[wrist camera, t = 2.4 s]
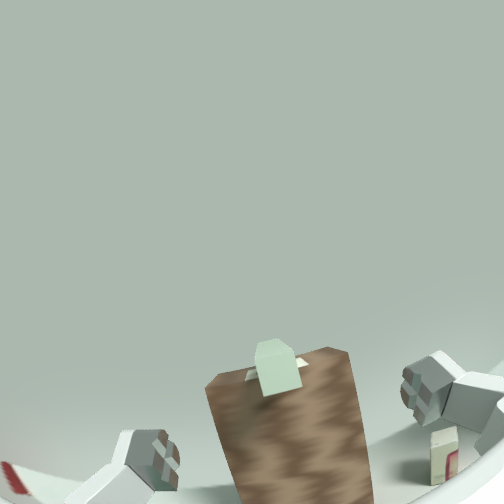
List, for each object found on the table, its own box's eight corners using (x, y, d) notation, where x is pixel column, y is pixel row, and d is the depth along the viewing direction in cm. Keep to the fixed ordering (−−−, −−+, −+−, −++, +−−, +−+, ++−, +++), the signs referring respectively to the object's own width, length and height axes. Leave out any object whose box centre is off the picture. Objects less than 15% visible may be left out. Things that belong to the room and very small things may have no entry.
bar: (282, 356, 40) (277, 337, 41) (302, 386, 19) (293, 350, 20) (262, 361, 40) (258, 342, 41) (263, 396, 19) (254, 359, 20)
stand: (355, 483, 31) (327, 346, 38) (374, 513, 21) (347, 351, 28) (260, 508, 30) (218, 373, 37) (259, 543, 21) (204, 387, 27)
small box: (457, 479, 19) (459, 440, 21) (429, 486, 21) (429, 448, 23) (456, 461, 23) (456, 424, 25) (431, 468, 25) (430, 431, 28)
